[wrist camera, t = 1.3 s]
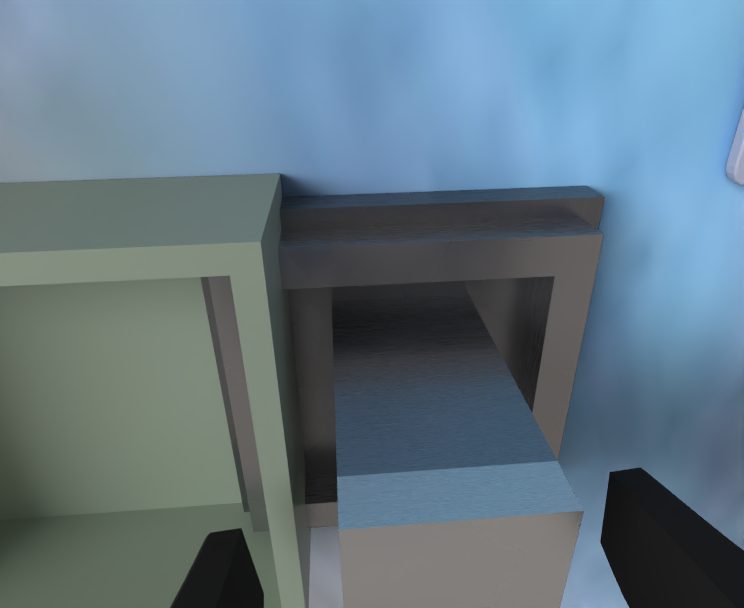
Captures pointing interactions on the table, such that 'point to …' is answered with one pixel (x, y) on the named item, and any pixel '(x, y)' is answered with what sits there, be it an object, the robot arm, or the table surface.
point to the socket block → (418, 279)
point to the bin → (140, 390)
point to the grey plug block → (442, 465)
